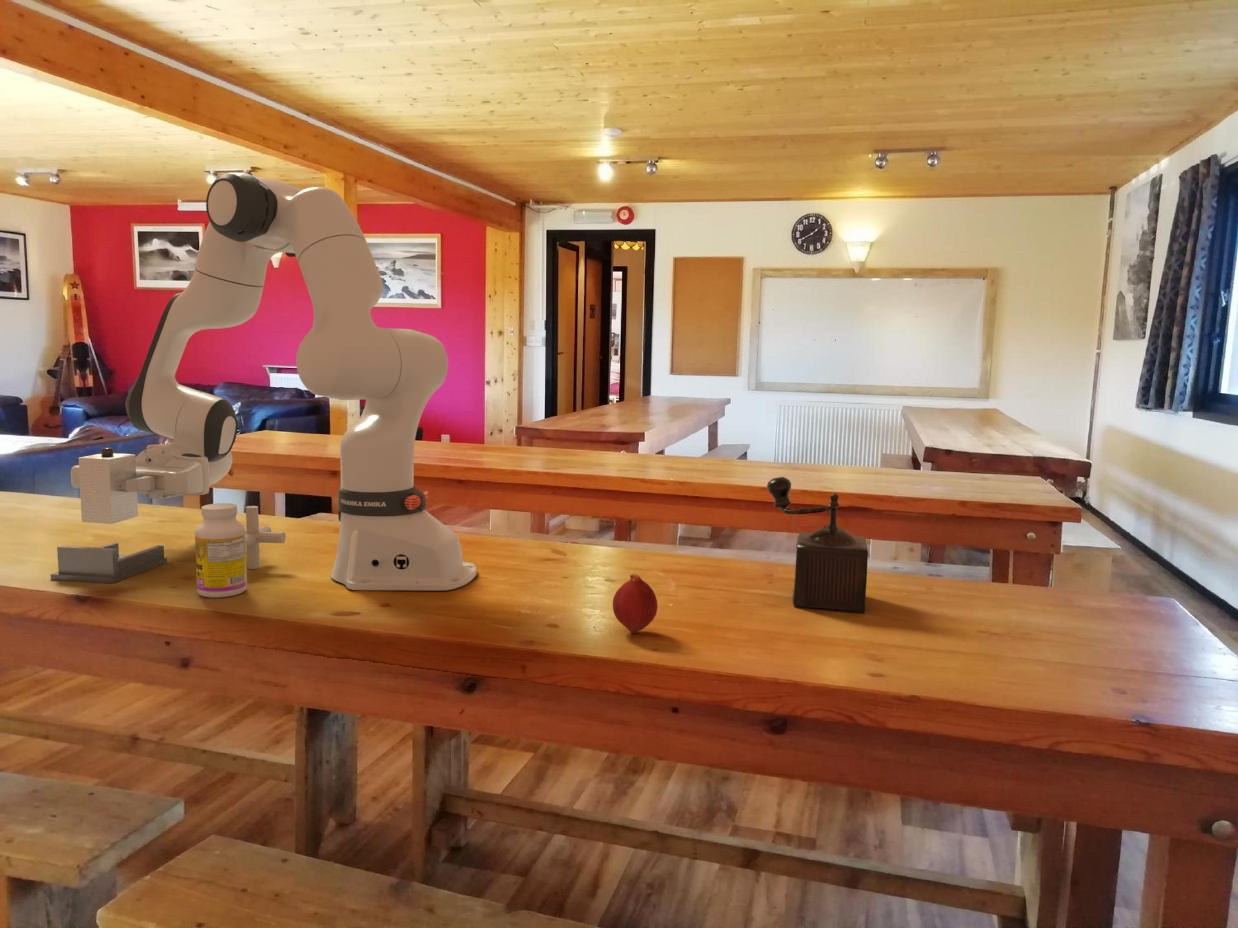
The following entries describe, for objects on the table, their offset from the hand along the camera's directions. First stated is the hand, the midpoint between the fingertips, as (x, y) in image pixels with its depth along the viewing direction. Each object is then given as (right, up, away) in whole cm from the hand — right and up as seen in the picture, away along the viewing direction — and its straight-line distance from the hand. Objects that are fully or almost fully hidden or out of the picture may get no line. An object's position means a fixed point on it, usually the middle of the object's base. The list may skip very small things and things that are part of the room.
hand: (104, 485), depth 134 cm
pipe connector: (+20, -14, +6) cm, 25 cm away
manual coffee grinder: (+109, -17, -3) cm, 110 cm away
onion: (+82, -19, -20) cm, 86 cm away
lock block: (0, -5, +2) cm, 6 cm away
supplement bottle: (+22, -16, -8) cm, 28 cm away
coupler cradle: (0, -13, +3) cm, 14 cm away
